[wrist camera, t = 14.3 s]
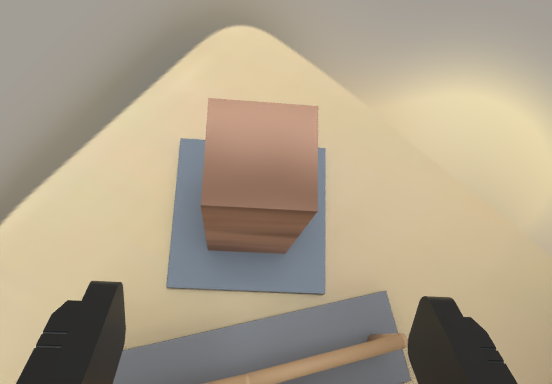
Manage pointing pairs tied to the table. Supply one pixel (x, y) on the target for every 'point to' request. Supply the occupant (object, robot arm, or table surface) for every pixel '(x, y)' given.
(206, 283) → the mat
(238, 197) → the block
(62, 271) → the table surface
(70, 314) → the robot arm
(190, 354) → the board with wooden handle
